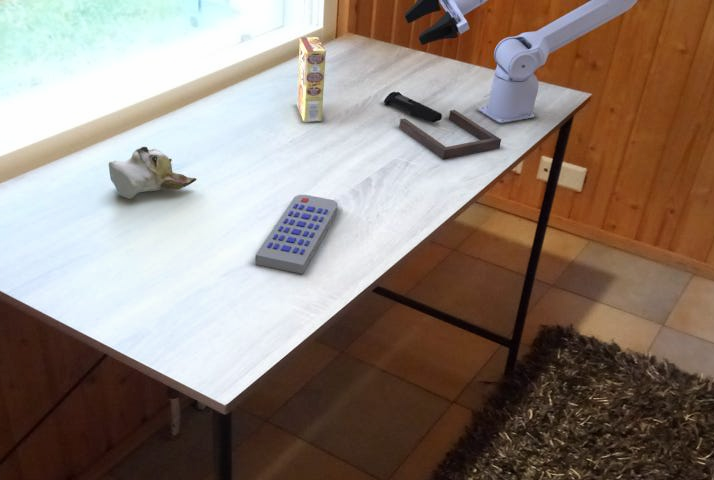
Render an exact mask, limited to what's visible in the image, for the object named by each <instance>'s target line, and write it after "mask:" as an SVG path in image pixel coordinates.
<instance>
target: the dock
mask: <svg viewBox="0 0 714 480" xmlns="http://www.w3.org/2000/svg"><path fill="white" fill-rule="evenodd" d="M448 120H449V121H450V122H452V123H454V124H455V125H457V126H459V127H460V128H462V129H463V130H464V131H466V132H468V133H469V134H471V135H472V136H474V137H475V138H477V139H478V140H476V141H475V140H474V141H470V142H465V143H459V144H454V145H448V146H445V145H444V144H442V143H441V142H440V141H438V140H437V139H436V138H434V137H433V136H431V135H430V134H428V133H427V132H426V131H424V130H422V129H421V128H419V127H418V126H417V125H415V124H414V123H413V122H411V121H410V120H408V119H407V118H400V119H399V127H398V128H399V130H401V131H403V132H404V133H406V134H407V135H408V136H409V137H411V138H413V139H414V140H415V141H417V142H418V143H419V144H420V145H422V146H424V147H425V148H427V149H428V150H429V151H431V152H432V153H433V154H434V155H436V156H437V157H438V158H440V159H441V160H448V159H453V158H458V157H463V156H467V155H473V154H479V153H483V152H488V151H493V150H498V149H500V146H501V142H502V138H500V137H499V136H497V135H495V134H494V133H492V132H490V131H489V130H488V129H486V128H484V127H483V126H482V125H480V124H478V123H477V122H474V121H473V120H472V119H470V118H468V117H467V116H465V115H463V114H462V113H460V112H459V111H458V110H456V109H451V110H449V114H448Z"/></svg>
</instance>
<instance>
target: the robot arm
mask: <svg viewBox="0 0 714 480" xmlns="http://www.w3.org/2000/svg"><path fill="white" fill-rule="evenodd" d="M488 1H489V0H417V1H416V2H415V3H414V4H413V5H412V6H411V7H410V8H409V9H408V10H407V11H406V12H405V13H404V15H403V16H404V19H405V21H406V23H407V24H410V23H413V22H415V21H417V20H419V19H421V18H422V17H424V16H426V15H429V14H432V13H436V12H440V11H442V9H441V6H442V8H443V9H444V11H445V13H444V14H443V15H442V16H441V17H440V18H439V19H438V20H437V21H436V22H435V23H434V24H432V25H431V26H430V27H428V28H427V29H425V30H424V31H422V32H420V34H419V35H418V36H417V38H418V40H419V43H420V45H421V46H424V45H426V44H430V43H433V42H436V41H440V40H446V39H447V40H448V39H457V38H458V37H459V34H460V35H463V34H464V33H465V32H468V31H469V30H470V26H469V23H468V21H467V19H466V18H465V15H467V14H468V13H470V12H471V11H473V10H475V9H477V8H478V7H480V6H481V5H483V4H484V3H486V2H488ZM638 1H639V0H589V1H587V2H586V3H584V4H582V5H580V6H579V7H577V8H575V9H573V10H571V11H569V12H568V13H566V14H564V15H563V16H561V17H559V18H557V19H555V20H554V21H552V22H550V23H548V24H546V25H545V26H543V27H541V28H539V29H537V30H535V31H526V32H522V33H520V34H518V35H515V36H508V37H505V38H503V39H502V40H500V41H498V43H497V45H496V47H495V48H494V52H493V59H494V61H495V63H497V64H496V68H495V70H494V74H493V78H492V85H491V89H490V93H489V98H488V99H489V100H488V104H487V106H483V107H479V108H478V111H479V112H481V113H482V114H484V115H486V116H487V117H488V118H490V119H492V120H493V121H495V122H497V123H498V124H506V123H511V122H515V121H521V120H528V119H531V118H533V119H534V118H535V116H536V115H535V114H534V108H535V103H536V100H537V95H538V92H539V81H538V77H537V76H536V74H534V73H535V72H536V71H537V70H538V69H539V68H541V67H542V66H544V65H546V62H547V59H548V57H549V55H550V54H551V53H552V54H553V52H556V51H557V50H559V49H561V48H562V47H564V46H566V45H568V44H570V43H571V42H573V41H575V40H577V39H578V38H580V37H582V36H585V35H586V34H588V33H590V32H592V31H594V30H595V29H597V28H599V27H600V26H602V25H604V24H605V23H608V22H610V21H611V20H613V19H614V18H617V17H618V16H620V15H622V14H624V13H626V12H627V11H629V10H631V8H633V6H634V5H635V4H636V3H637V2H638ZM439 3H440V4H439ZM440 5H441V6H440ZM458 33H459V34H458Z"/></svg>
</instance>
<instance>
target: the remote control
mask: <svg viewBox="0 0 714 480" xmlns="http://www.w3.org/2000/svg"><path fill="white" fill-rule="evenodd" d="M338 206H339V205H338V202H337V201H336V200H334V199H330V198H325V197H320V196H315V195H308V194H297V195H296V196H294V197H293V198H292V200H291V201H290V203H289V205H288V206H287V207H286V209H285V210H284V212H283V213H282V215H281V216H280V218H279V219H278V221H277V222H276V224H275V225H274V226H273V228H272V230H271V231H270V232H269V234H268V236H267V237H266V239H265V240H264V242H263V243H262V245H261V246H260V247H259V249H258V251H257V252H256V254H255V259H254V261H255V262H254V264H255V265H257V266H262V267H266V268H267V267H268V268H271V269H277V270H280V271H281V270H282V271H286V272H291V273H295V274H300V275H304V272H305V271H306V269H307V268H308V265H309V264H310V262H311V260H312V258H313V257H314V255H315V253H316V252H317V249H318V248H319V246H320V244H321V243H322V241H323V239H324V237H325V236H326V234H327V233H328V230H329V229H330V226H331V225H332V223H333V221H334V220H335V218H336V216H337V214H338V208H339V207H338Z"/></svg>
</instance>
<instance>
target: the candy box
mask: <svg viewBox="0 0 714 480" xmlns="http://www.w3.org/2000/svg"><path fill="white" fill-rule="evenodd" d="M298 52H299V54H298V75H297V76H298V77H297V78H298V79H297V109H298V111H299V114H300V117H301V118H302V121H303V122H305V123H311V122H313V123H314V122H322V121H323V104H324V103H323V102H324V87H325V72H326V71H325V70H326V54H327V51H326V49H325V46H324V45H323V43H322V42H321V40H320V38H319V37H318V36H313V37H312V36H311V37H310V36H308V37H307V36H306V37H304V36H303V37H300V38H299V51H298Z"/></svg>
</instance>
